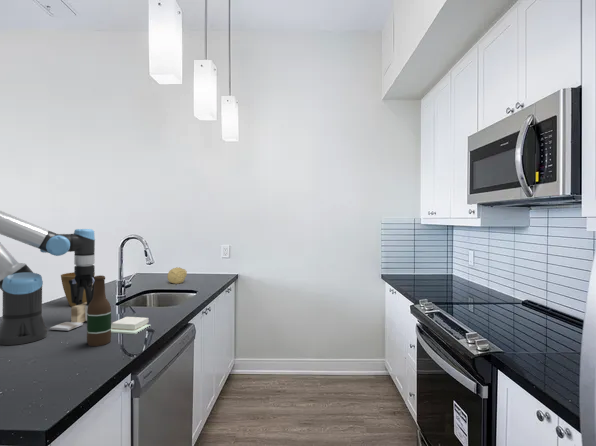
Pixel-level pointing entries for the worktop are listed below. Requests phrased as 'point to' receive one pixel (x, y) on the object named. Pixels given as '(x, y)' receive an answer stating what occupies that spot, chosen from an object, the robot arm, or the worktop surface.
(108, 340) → the beer bottle
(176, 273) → the beige lumpy ball
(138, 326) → the tile
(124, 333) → the mat
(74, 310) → the turner
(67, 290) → the plant pot
